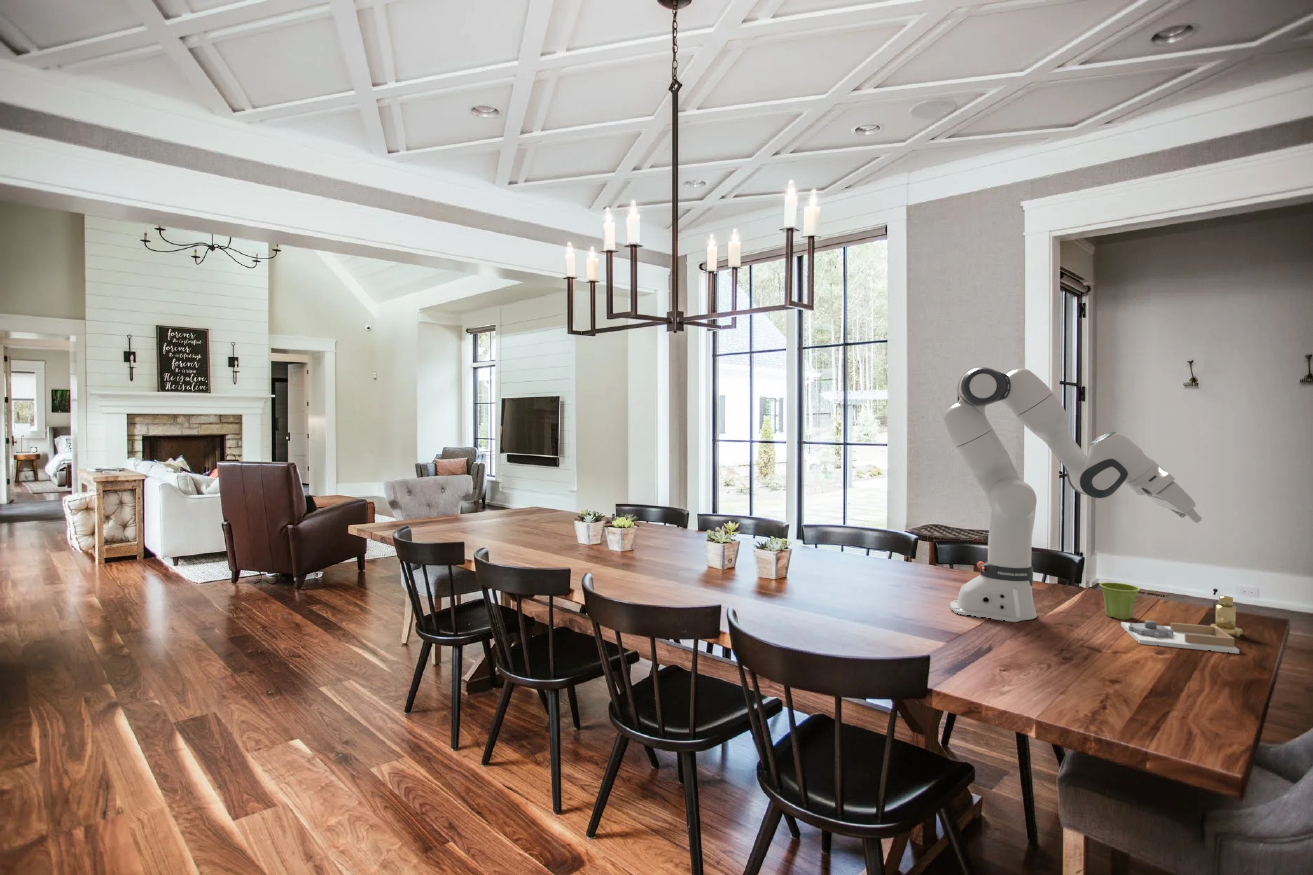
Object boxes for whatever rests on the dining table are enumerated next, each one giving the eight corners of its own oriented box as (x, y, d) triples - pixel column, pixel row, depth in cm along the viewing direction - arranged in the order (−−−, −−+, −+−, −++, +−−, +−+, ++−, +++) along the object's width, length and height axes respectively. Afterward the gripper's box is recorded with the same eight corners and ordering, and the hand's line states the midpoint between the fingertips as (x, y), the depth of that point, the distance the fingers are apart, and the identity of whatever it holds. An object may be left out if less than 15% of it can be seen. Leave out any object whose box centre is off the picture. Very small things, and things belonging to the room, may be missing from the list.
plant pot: (1146, 622, 187) (1146, 591, 187) (1107, 620, 189) (1108, 589, 189) (1129, 613, 196) (1130, 583, 196) (1093, 611, 198) (1094, 581, 198)
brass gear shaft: (1214, 634, 177) (1214, 598, 176) (1203, 627, 183) (1204, 592, 182) (1247, 637, 174) (1248, 601, 174) (1235, 630, 180) (1236, 595, 180)
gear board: (1138, 643, 169) (1139, 628, 169) (1120, 625, 184) (1120, 611, 184) (1239, 653, 162) (1239, 637, 162) (1211, 633, 177) (1211, 619, 177)
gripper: (1126, 484, 193) (1166, 520, 190) (1151, 491, 174) (1196, 532, 171) (1145, 469, 192) (1185, 505, 189) (1172, 474, 172) (1218, 515, 169)
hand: (1191, 518), depth 180 cm, fingers open, 8 cm apart
